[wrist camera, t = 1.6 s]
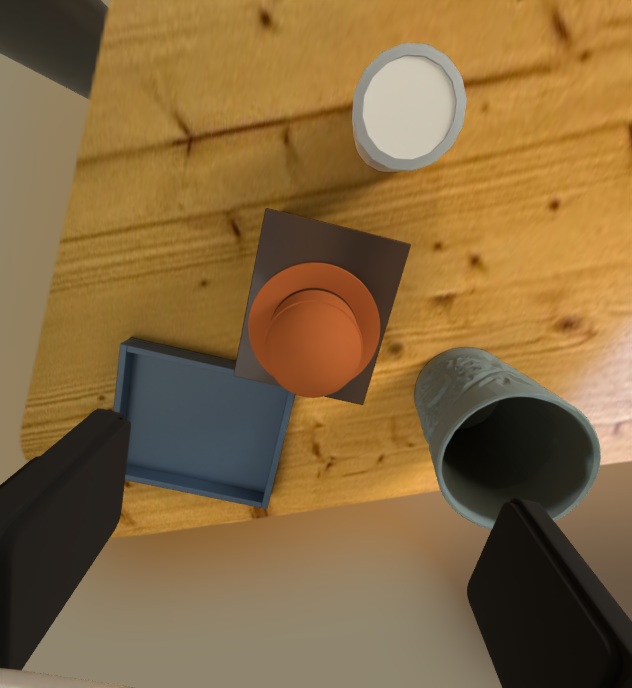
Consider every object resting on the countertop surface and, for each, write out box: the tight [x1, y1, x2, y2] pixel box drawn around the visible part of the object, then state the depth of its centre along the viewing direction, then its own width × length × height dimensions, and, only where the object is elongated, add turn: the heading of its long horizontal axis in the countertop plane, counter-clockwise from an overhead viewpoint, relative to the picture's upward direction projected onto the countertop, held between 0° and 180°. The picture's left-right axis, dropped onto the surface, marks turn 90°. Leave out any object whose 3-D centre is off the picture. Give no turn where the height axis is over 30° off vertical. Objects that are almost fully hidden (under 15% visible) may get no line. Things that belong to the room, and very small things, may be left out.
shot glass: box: [352, 43, 467, 172], centre depth 28 cm, size 7×7×7 cm
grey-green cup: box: [414, 347, 601, 529], centre depth 31 cm, size 10×10×12 cm
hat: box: [248, 262, 380, 398], centre depth 23 cm, size 8×8×7 cm
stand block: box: [234, 208, 411, 405], centre depth 30 cm, size 9×11×9 cm
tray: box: [113, 338, 295, 509], centre depth 37 cm, size 15×13×2 cm
